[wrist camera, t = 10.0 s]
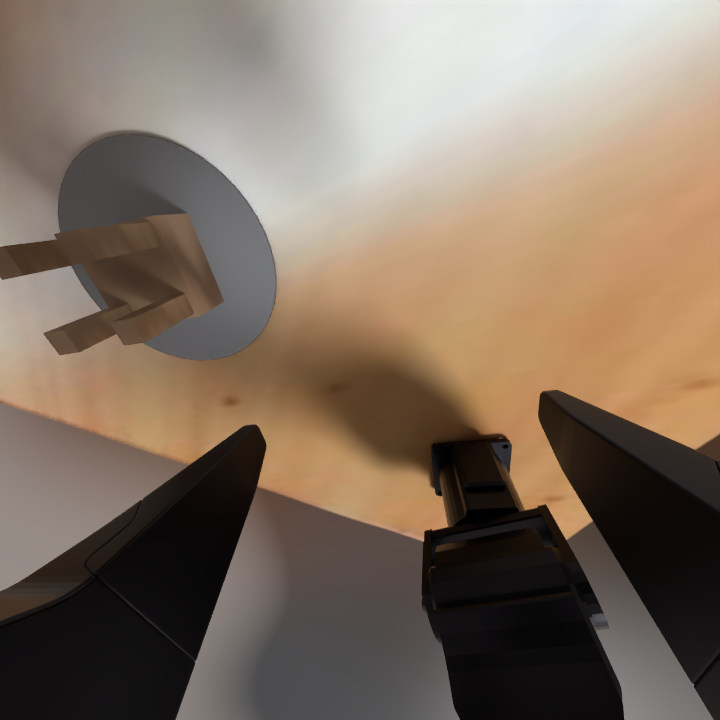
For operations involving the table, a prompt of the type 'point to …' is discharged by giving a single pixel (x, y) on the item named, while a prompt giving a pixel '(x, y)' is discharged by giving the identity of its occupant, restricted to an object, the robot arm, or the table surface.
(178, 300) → the stool
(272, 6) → the table surface
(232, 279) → the mat
